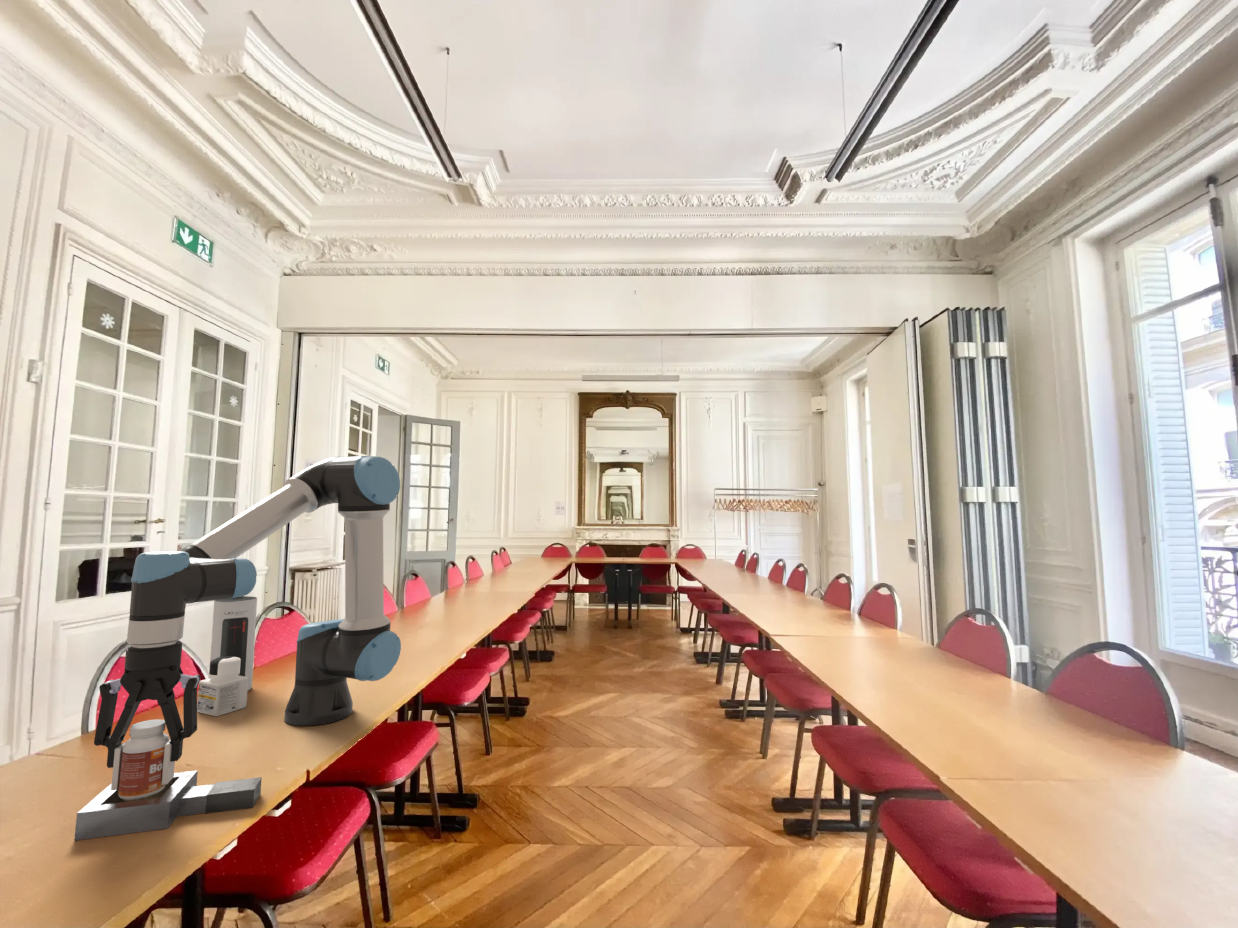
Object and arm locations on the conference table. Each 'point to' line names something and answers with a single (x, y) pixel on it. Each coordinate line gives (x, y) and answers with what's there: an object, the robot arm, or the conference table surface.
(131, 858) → the conference table surface
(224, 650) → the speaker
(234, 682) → the container
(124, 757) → the pill bottle
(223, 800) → the grey square pan
